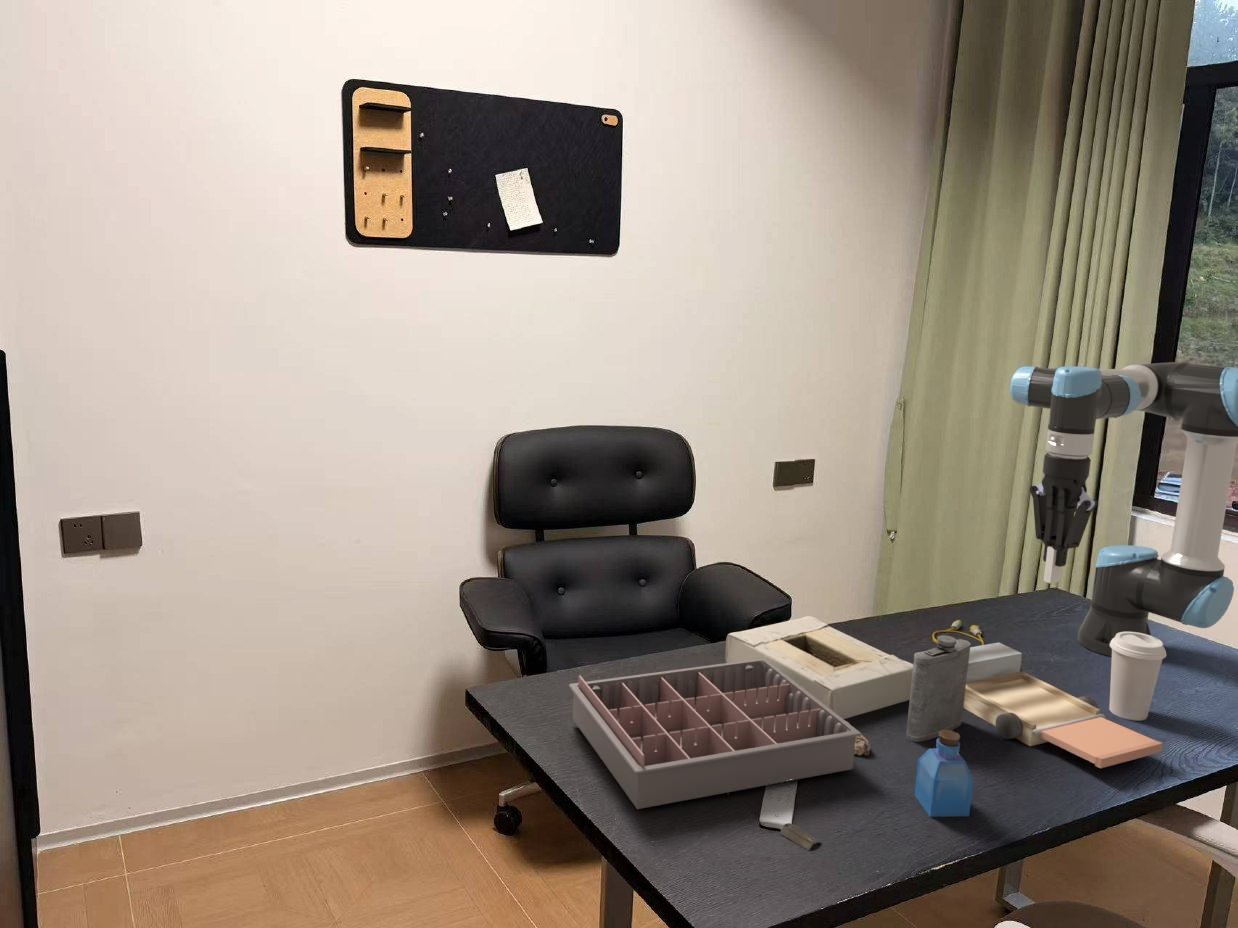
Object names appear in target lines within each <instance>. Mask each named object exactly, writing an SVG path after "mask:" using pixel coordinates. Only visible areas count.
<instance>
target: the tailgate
mask: <svg viewBox="0 0 1238 928" xmlns="http://www.w3.org/2000/svg"><path fill="white" fill-rule="evenodd" d="M1032 733H1033V734H1034V735H1037V734H1041V738H1042V739H1045V740H1047V741H1049V743H1051V744H1053V745H1055V746H1058V748H1059V747H1060V748H1061V749H1063V750H1066V751H1067V752H1069V753H1071V754H1073V755H1076V756H1078V757H1080V758H1082V759H1084V760H1086V761H1089V762H1090V763H1092V764H1094V766H1095V767H1097V768H1099V769H1103V768H1107V767H1111V766H1115V765H1118V764H1122V763H1127V762H1129V761H1133V760H1137V759H1140V758H1144V757H1148V756H1152V755H1157V754H1159V753H1162V752H1163V746H1164V744H1163V742H1161V741H1159V740H1156V739H1153V738H1151V737H1148V736H1146V735H1144V734H1141V733H1139V732H1137V731H1135V730H1132V729H1130V728H1127V727H1125V726H1122V725H1120V724H1118V723H1115V722H1113V721H1111V720H1109V719H1106V715H1105V714H1104V713H1100V714H1098V715H1094V716H1090V717H1086V718H1081V719H1077V720H1073V721H1068V722H1064V723H1060V724H1056V725H1051V726H1047V727H1043V728H1038V729H1034V730H1032Z"/></svg>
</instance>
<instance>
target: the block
mask: <svg viewBox="0 0 1238 928" xmlns="http://www.w3.org/2000/svg"><path fill="white" fill-rule="evenodd" d="M780 836H782V837H784V838H785V839H786V840H788V841H791V842H793V843H794V844H796V845H797V846H799V847H800V848H803V849H805V850H806V851H808V852H809V851H811V850H813V849H814V848H817V847H818V846H819V845H822V842H821V841H819V840H818V839H817V838H815V837H814V836H813V835H811V834H809V833H808V832H807V831H805V830H804V829H802V828H801V827H799V826H797V824H796V825H795V824H793V823H791V822H788V823H784V824H783V825H782V826H781V828H780Z"/></svg>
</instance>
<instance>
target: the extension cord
mask: <svg viewBox="0 0 1238 928" xmlns="http://www.w3.org/2000/svg"><path fill="white" fill-rule="evenodd" d="M961 626H963V621H961V620H960V619H956V620H955V621H954V622H952V623H951V627H950V628H948V629H946V630H936V631H934V632H933V633H932V641H933V642H934V643H936V645H938V642H937V639H936V638H935V636H936V635H937V634H938V633H939V634H941V633H958V634H962V635H965V636H968V637H969V638H973V639H975V640H977V641H979V642H981V645H980V646H982V645H986V644H985V642H984V640H983V639H982V637H981V635H982V630H981V628H980V625H976V624H973V625H971V626H970V628H969V632H971V633H972V634H973V635H974V636H973V635H971V634H968V633H964V632H961V631H958V630H959V629H961Z"/></svg>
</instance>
